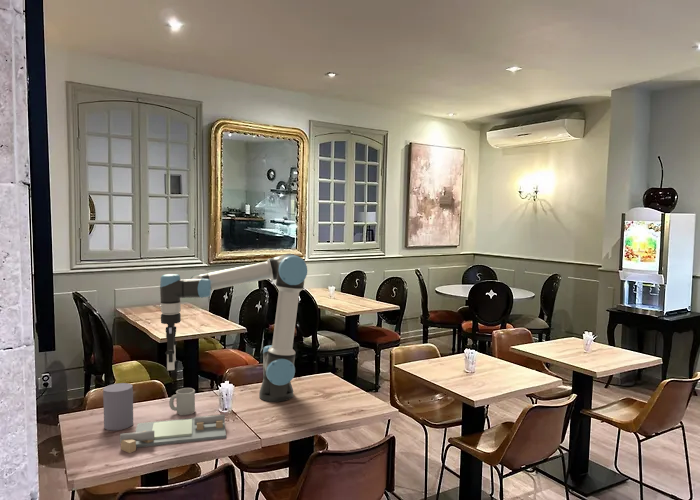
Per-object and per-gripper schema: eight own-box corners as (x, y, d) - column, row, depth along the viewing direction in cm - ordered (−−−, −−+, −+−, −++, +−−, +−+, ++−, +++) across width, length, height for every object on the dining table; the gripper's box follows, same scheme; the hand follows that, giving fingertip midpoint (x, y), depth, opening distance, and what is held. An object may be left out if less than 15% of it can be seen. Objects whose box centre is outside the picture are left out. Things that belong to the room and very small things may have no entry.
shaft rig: (223, 417, 214) (223, 405, 213) (226, 442, 190) (226, 429, 190) (127, 426, 204) (127, 413, 204) (118, 454, 181) (118, 439, 180)
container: (103, 432, 198) (102, 393, 197) (104, 422, 208) (103, 385, 207) (133, 428, 202) (133, 389, 201) (133, 419, 212) (132, 381, 211)
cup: (196, 414, 217) (195, 392, 217) (170, 417, 214) (169, 395, 213) (193, 408, 224) (193, 387, 223) (168, 411, 220) (168, 390, 220)
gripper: (162, 308, 224) (163, 357, 226) (158, 319, 201) (159, 374, 202) (181, 307, 227) (181, 356, 228) (179, 318, 203) (180, 373, 204)
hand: (171, 365), depth 215 cm, fingers open, 13 cm apart
